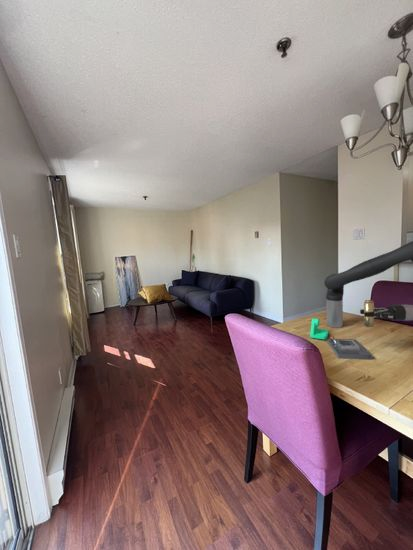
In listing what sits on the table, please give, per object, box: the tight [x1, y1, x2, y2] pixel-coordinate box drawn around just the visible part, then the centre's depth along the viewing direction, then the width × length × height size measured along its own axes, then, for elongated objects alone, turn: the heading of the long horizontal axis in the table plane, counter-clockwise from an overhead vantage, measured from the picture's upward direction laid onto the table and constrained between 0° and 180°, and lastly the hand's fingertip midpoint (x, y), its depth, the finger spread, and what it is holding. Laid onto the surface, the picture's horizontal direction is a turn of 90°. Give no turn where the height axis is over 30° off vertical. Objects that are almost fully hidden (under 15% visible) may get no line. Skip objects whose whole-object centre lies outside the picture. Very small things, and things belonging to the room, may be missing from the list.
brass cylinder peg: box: [363, 299, 375, 328], centre depth 114 cm, size 4×4×13 cm
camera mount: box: [309, 318, 330, 340], centre depth 133 cm, size 12×8×10 cm, turn 144°
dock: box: [326, 336, 373, 360], centre depth 114 cm, size 18×14×4 cm
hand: (362, 313), depth 115 cm, fingers closed on brass cylinder peg, 4 cm apart
